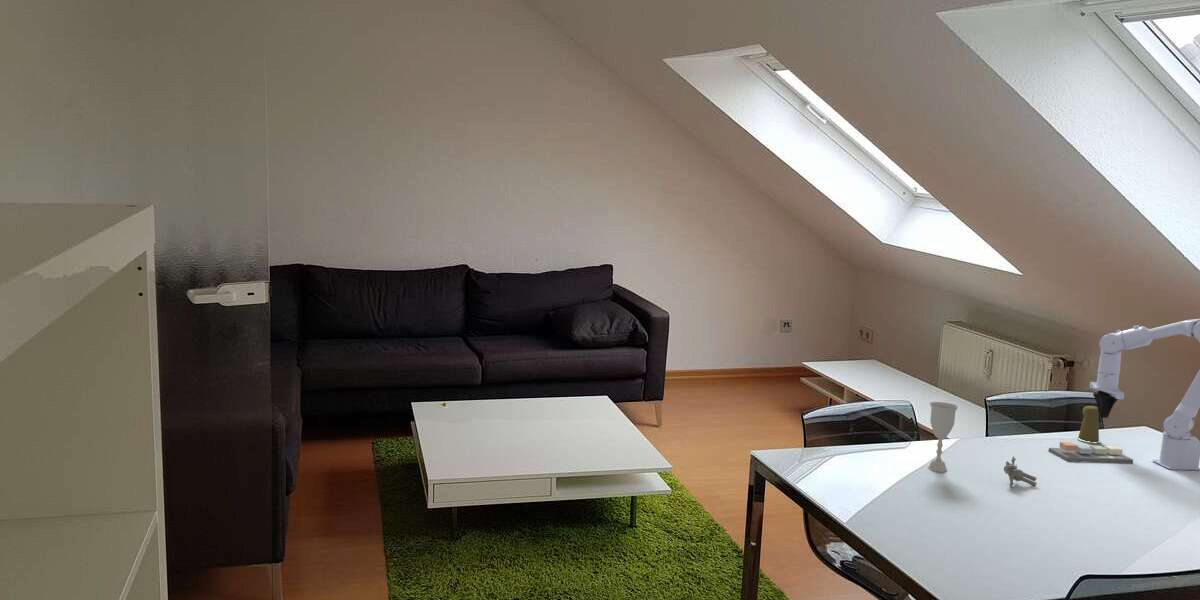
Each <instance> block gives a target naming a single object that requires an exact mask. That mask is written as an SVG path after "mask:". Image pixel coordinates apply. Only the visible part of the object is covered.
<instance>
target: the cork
mask: <svg viewBox="0 0 1200 600" xmlns="http://www.w3.org/2000/svg"><path fill="white" fill-rule="evenodd" d="M1082 415H1083V419H1082V421H1081V426H1080V430H1079V434H1078V437H1077V439H1078V438H1080V439H1082V440H1085V441H1090V442H1098V441H1099V442H1100V432H1099V431H1100V429H1099V428H1100V427H1099V426H1100V425H1099V419H1100V417H1099V414H1098V407H1097V406H1094V405H1086V406H1083V409H1082Z"/></svg>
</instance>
